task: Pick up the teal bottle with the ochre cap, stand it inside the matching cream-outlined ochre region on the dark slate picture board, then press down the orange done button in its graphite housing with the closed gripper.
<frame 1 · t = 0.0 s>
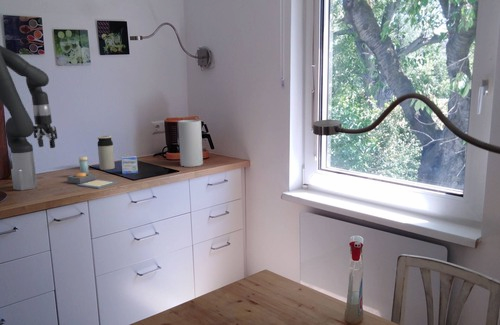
hand: (47, 147, 223), 17 cm above the table, tool pointing down, fingers open, 8 cm apart
teal bottle: (84, 176, 237), on the table
button housing: (81, 181, 225), on the table
done button: (80, 175, 225), point 3 cm above the table, slide at 0.0 cm
cylinder vase: (191, 165, 259), on the table
travel mug: (107, 169, 255), on the table
picture board: (97, 184, 218), on the table
medicine box: (130, 173, 243), on the table
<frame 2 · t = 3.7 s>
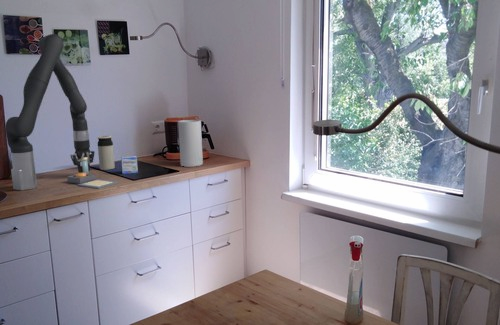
hand: (84, 172, 236), 2 cm above the table, tool pointing down, fingers closed on teal bottle, 4 cm apart
teal bottle: (84, 176, 237), on the table, touching gripper
everything else where it was.
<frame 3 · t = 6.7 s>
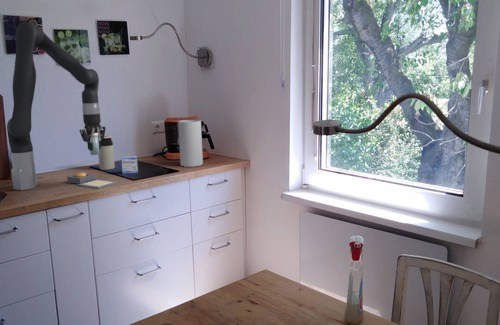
hand: (94, 149, 215), 17 cm above the table, tool pointing down, fingers closed on teal bottle, 4 cm apart
teal bottle: (95, 154, 215), point 15 cm above the table, touching gripper
everything else where it was.
when the fingers open (4 cm above the table, at t = 9.7 s): teal bottle drops 1 cm, resting on picture board.
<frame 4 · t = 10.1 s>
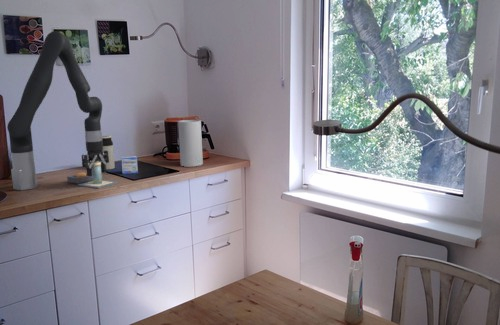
hand: (97, 174, 217), 5 cm above the table, tool pointing down, fingers open, 8 cm apart
teal bottle: (97, 183, 218), point 1 cm above the table, touching picture board
everything else where it was.
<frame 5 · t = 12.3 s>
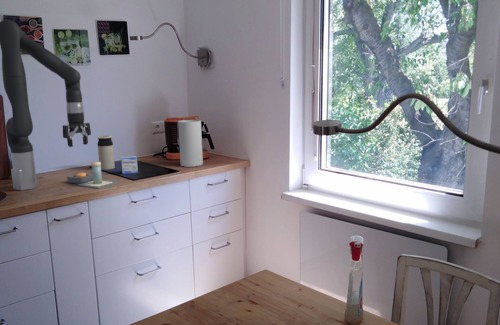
hand: (78, 145, 221), 18 cm above the table, tool pointing down, fingers open, 8 cm apart
nothing on the table moved.
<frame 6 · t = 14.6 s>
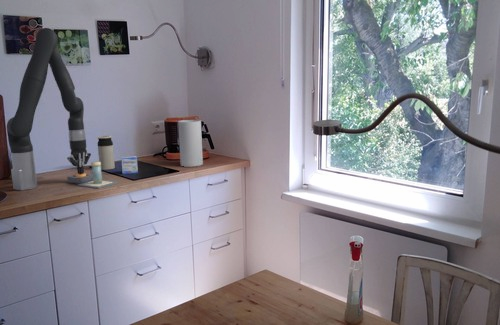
hand: (81, 173, 225), 4 cm above the table, tool pointing down, fingers closed
done button: (81, 176, 225), point 3 cm above the table, slide at 0.3 cm, touching gripper
everything else where it was.
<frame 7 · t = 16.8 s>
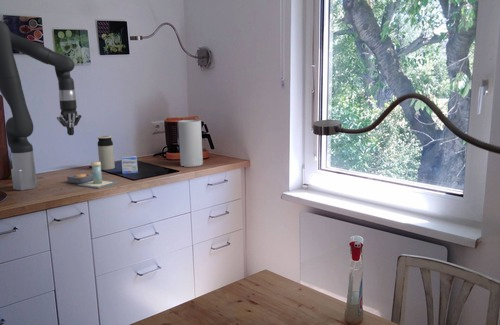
hand: (71, 135, 225), 23 cm above the table, tool pointing down, fingers closed
done button: (81, 177, 225), point 2 cm above the table, slide at 0.8 cm
everything else where it was.
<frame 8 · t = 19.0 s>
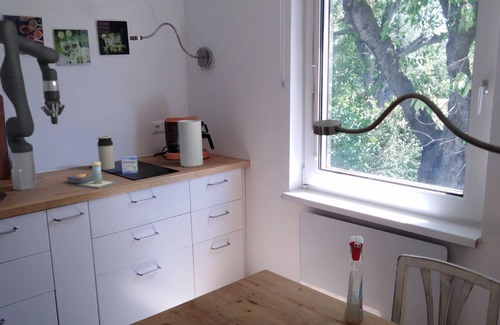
hand: (54, 124, 235), 27 cm above the table, tool pointing down, fingers closed
nothing on the table moved.
at the end: teal bottle 0.0 cm off-centre on the picture board, point 0.6 cm above the picture board's base; teal bottle tilted 0°; done button slide at 0.8 cm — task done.
